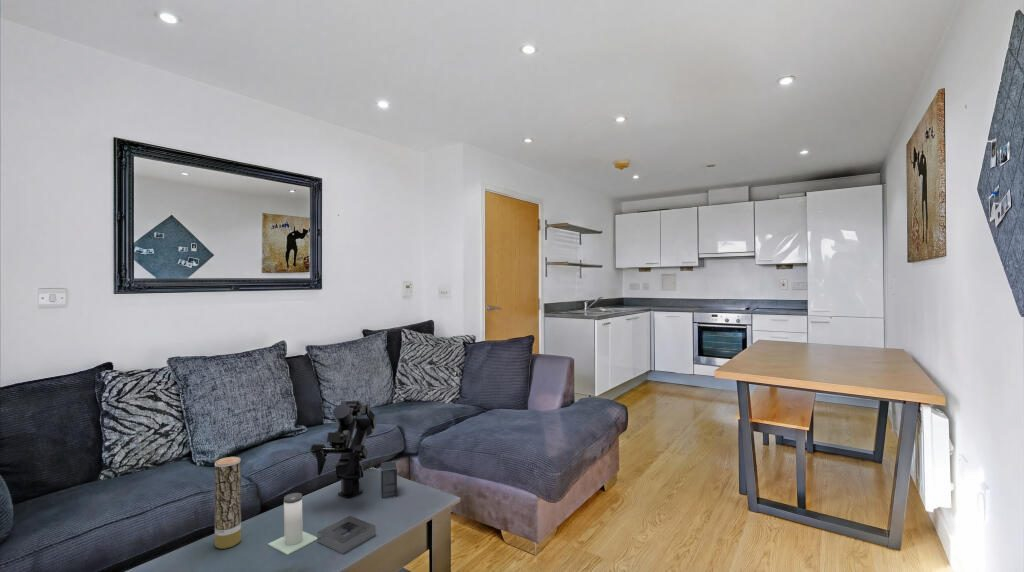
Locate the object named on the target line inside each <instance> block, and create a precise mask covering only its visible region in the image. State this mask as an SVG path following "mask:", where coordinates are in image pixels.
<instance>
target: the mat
mask: <svg viewBox="0 0 1024 572" xmlns="http://www.w3.org/2000/svg"><path fill="white" fill-rule="evenodd" d="M316 541H317V536H315V535H313V534H310V533H308V532H306V531H304V530H303V540H302V541H301V542H299V543H297V544H295V545H286V544H285V536H281V537H279V538H277V539H275V540H274V541H273V540H272V541H271V542H269V543H267V546H269V547H271V548H273V549H274V550H277V551H278V552H280V553H282V554H284V555H286V556H290V555H291V554H293V553H295V552H296V551H298V550H301V549H302V548H304V547H307V546H309V545H310V544H312V543H315V542H316Z"/></svg>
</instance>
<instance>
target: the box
mask: <svg viewBox="0 0 1024 572" xmlns="http://www.w3.org/2000/svg"><path fill="white" fill-rule="evenodd" d="M396 463H397V461H396V460H392V461H384V462H380V493H381V499H388V498H387V497H390V498H394V497H393V496H396V497H398V468H397V467H398V466H397V464H396Z"/></svg>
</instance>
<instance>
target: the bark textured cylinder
mask: <svg viewBox="0 0 1024 572" xmlns="http://www.w3.org/2000/svg"><path fill="white" fill-rule="evenodd" d="M241 459H242V458H241V457H239V456H229V457H228V456H227V457H223V458H220V459H217V460H216V461H215V462H214V546H215V547H216V548H217V549H220V550H221V549H222V550H223V549H224V550H226V549H228V548H229V549H230V548H232V547H235V546H236V545H238V544H239V543H240V542H241V540H242V460H241Z"/></svg>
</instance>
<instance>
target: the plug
mask: <svg viewBox="0 0 1024 572" xmlns="http://www.w3.org/2000/svg"><path fill="white" fill-rule="evenodd" d="M283 519H284V520H283V522H284V523H283V524H284V527H283V528H284V530H283V531H284V532H283V533H284V534H283V535H284V536H285V544H286V545H295V544H297V543H299V542H301V541H302V540H303V531H304V530H303V529H304V528H303V527H304V526H303V524H304V523H303V493H300V492H292V493H288V494H287V495H285V496H284V497H283Z"/></svg>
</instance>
